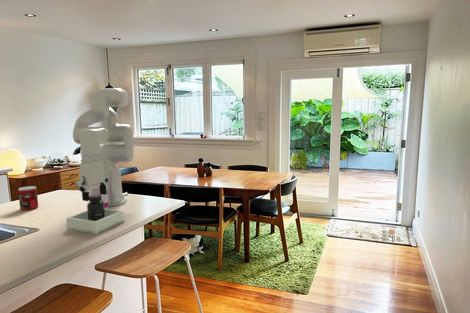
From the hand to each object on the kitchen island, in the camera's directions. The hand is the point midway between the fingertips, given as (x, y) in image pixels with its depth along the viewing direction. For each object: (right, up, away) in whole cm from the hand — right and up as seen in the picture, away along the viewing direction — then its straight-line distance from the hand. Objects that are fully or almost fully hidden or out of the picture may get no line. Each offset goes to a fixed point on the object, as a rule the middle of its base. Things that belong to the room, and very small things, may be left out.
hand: (94, 197), depth 139 cm
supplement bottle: (0, -11, +1) cm, 12 cm away
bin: (0, -12, +1) cm, 12 cm away
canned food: (-46, -10, +28) cm, 55 cm away
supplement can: (-6, -10, +18) cm, 22 cm away
